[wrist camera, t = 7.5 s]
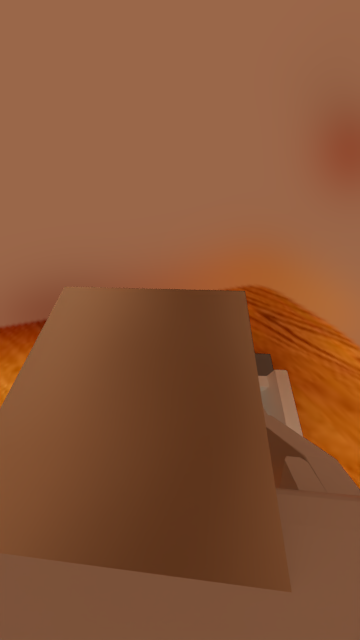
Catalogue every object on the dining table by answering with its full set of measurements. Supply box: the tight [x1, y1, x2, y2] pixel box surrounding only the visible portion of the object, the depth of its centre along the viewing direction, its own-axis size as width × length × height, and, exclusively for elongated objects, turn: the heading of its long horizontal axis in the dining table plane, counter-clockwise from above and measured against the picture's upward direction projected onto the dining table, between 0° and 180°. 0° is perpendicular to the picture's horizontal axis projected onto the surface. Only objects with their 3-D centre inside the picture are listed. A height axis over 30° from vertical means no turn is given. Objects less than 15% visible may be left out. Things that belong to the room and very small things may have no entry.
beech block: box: [0, 287, 292, 592], centre depth 9 cm, size 5×5×12 cm
